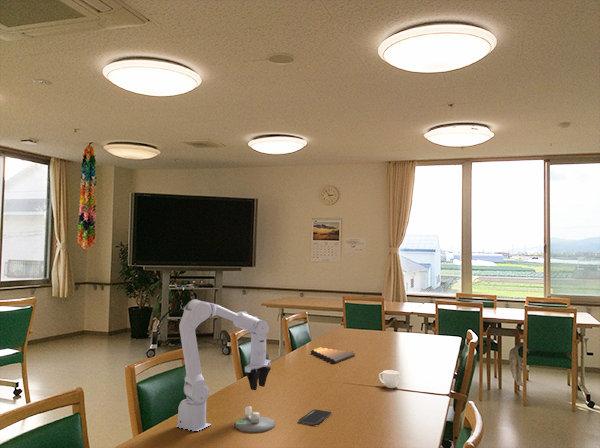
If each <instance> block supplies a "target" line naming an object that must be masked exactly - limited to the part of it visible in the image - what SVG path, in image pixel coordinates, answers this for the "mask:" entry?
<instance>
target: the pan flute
mask: <svg viewBox="0 0 600 448" xmlns="http://www.w3.org/2000/svg"><path fill="white" fill-rule="evenodd" d="M310 354H311V355H313V356H315V357H316V358H320V360H323V361H326V362H328V363H330V364H332V365H336V364H339V363H341V362H343V361H346V360H349V359H351V358H354V357H355V356H356V353H355V352H354V351H350V352H349V351H348V350H345V351H344V350H343V349H340V350H338V349H337V348H336V349H333V348H327V347H324V348H323V347H322V346H320V347H317V348H314V349H312V350H311V351H310Z"/></svg>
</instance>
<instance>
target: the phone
mask: <svg viewBox="0 0 600 448" xmlns="http://www.w3.org/2000/svg"><path fill="white" fill-rule="evenodd" d="M331 414H332V415H333V413H332V411H329V410H327V411H326V410H321V409H313V410H311V411H310V412H308V413H307V414H305V415H304V416H302V417H300V418H299V419H298V422H299V424H301V423H304V424H303V425H306V424H309V425H308V426H312V425H318V426H320V425H321V424H322V423H323V422H325V421H326V420H327V419H329V418H330V417H331V416H332V415H331ZM330 415H331V416H330ZM329 416H330V417H329ZM326 418H327V419H326ZM325 419H326V420H325ZM324 420H325V421H324ZM320 423H321V424H320Z"/></svg>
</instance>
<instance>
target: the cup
mask: <svg viewBox="0 0 600 448" xmlns="http://www.w3.org/2000/svg"><path fill="white" fill-rule="evenodd" d="M400 375H401V373H400V371H399V370H393V369H386V370H383V371H382V372H379V374H378V379H379V380H380V382H381V383H382V384H384V385H385V387H386V388H389V389H394V388H396V387H397V386H398V384H399V382H400Z"/></svg>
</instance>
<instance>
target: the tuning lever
mask: <svg viewBox="0 0 600 448" xmlns="http://www.w3.org/2000/svg"><path fill="white" fill-rule="evenodd" d="M244 407H245V409H244V411H245V412H244V417H245V418H248V419H250V420H251V423H259V416H260V412H258V411H253V407H252V405H251V406H250V405H247V406H244Z"/></svg>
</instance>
